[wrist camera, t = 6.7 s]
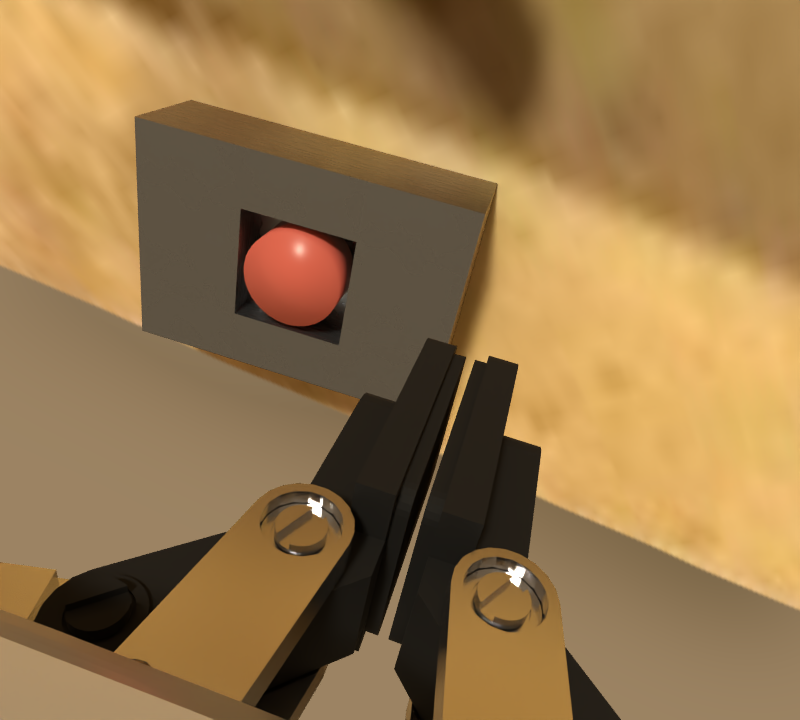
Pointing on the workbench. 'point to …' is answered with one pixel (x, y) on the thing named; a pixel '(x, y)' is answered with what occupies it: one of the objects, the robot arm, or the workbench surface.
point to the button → (298, 273)
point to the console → (312, 208)
